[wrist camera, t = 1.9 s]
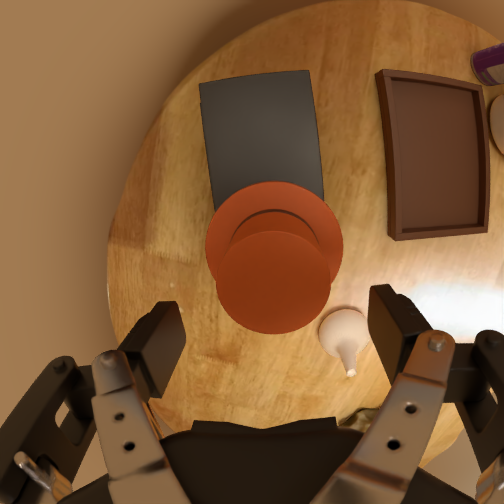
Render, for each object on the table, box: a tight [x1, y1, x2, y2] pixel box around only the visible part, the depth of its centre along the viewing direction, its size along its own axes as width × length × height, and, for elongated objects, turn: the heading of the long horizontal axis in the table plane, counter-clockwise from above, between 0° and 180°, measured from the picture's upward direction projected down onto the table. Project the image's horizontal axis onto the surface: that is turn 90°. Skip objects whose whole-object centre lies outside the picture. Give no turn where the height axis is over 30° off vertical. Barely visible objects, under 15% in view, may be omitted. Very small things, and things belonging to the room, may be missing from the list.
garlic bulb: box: [319, 309, 370, 377], centre depth 29 cm, size 6×6×8 cm
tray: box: [375, 69, 490, 241], centre depth 24 cm, size 18×14×2 cm
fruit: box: [342, 409, 379, 432], centre depth 37 cm, size 9×9×8 cm
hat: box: [205, 181, 343, 334], centre depth 16 cm, size 9×9×6 cm
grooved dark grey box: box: [199, 70, 324, 213], centre depth 23 cm, size 14×7×11 cm, turn 7°
